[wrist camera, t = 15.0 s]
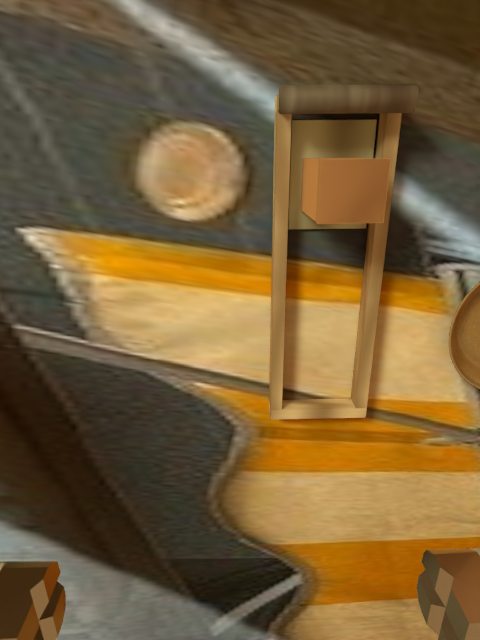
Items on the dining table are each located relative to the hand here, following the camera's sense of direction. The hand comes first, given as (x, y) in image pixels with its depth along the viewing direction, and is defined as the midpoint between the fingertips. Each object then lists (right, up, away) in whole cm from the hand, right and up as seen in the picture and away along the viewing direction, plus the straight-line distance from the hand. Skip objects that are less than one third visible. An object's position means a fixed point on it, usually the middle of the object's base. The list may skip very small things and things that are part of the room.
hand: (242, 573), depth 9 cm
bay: (+8, +11, +32) cm, 35 cm away
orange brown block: (+8, +18, +29) cm, 35 cm away
